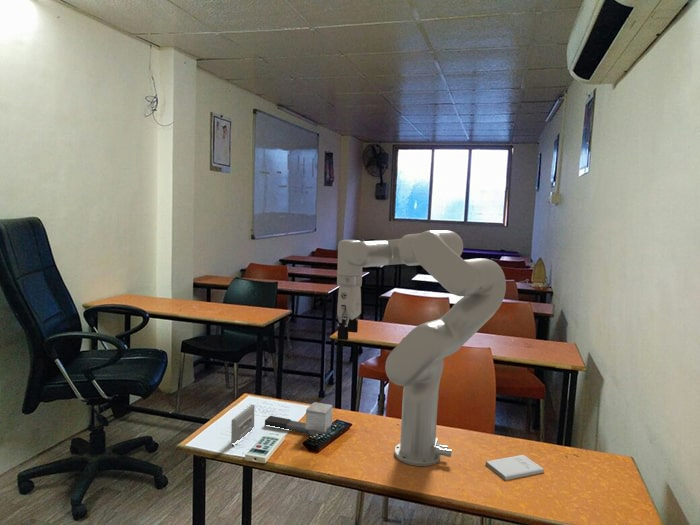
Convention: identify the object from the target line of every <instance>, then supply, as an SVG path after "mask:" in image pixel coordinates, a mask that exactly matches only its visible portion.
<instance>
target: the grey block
mask: <svg viewBox="0 0 700 525" xmlns="http://www.w3.org/2000/svg"><path fill="white" fill-rule="evenodd" d="M305 410H306V411H305V423H306V429H308V430H313V431H319V432H324V433H325V432H326V431H327V429H328V428H329V427H331V426H332V424H333V404H328V403H324V402H323V403H322V402H316V401H313V403H311V404H310V405H309V406H308V407H307V408H306V409H305Z"/></svg>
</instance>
